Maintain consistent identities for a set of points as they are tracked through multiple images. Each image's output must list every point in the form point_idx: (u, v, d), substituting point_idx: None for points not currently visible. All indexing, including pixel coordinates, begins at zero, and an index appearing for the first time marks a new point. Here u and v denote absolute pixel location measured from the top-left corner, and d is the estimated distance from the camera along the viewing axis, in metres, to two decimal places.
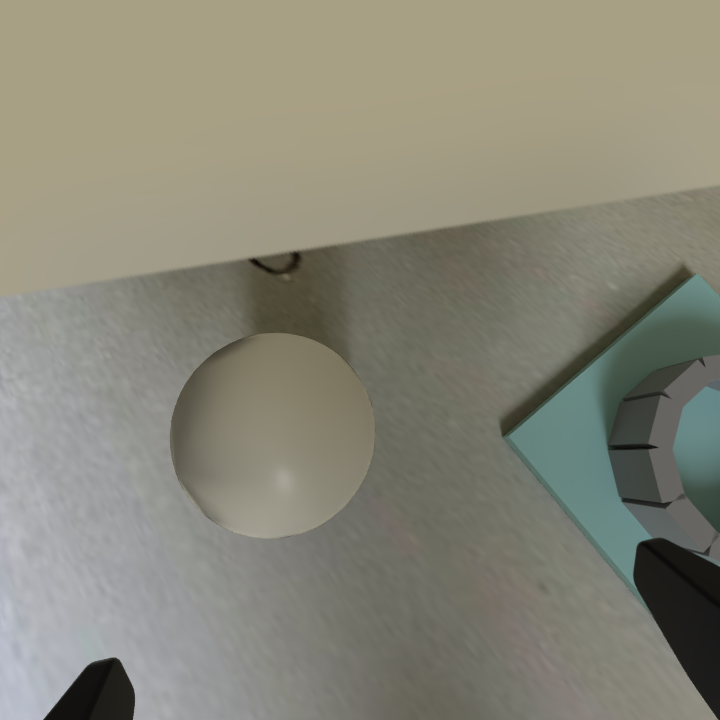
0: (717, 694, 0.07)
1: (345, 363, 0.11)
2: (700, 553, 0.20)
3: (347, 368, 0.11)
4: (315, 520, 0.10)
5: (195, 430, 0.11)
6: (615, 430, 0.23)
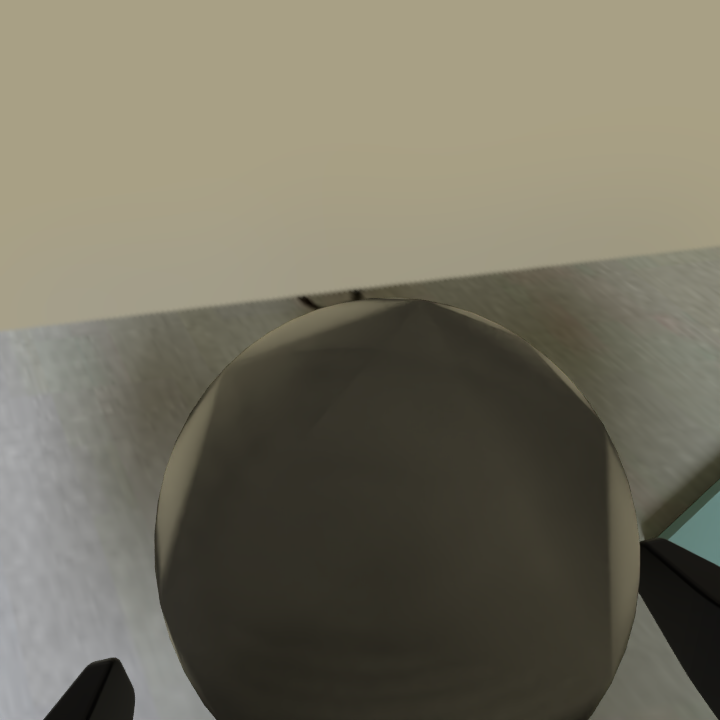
0: (717, 694, 0.07)
1: (548, 362, 0.05)
2: None
3: (552, 373, 0.05)
4: None
5: (216, 496, 0.05)
6: None
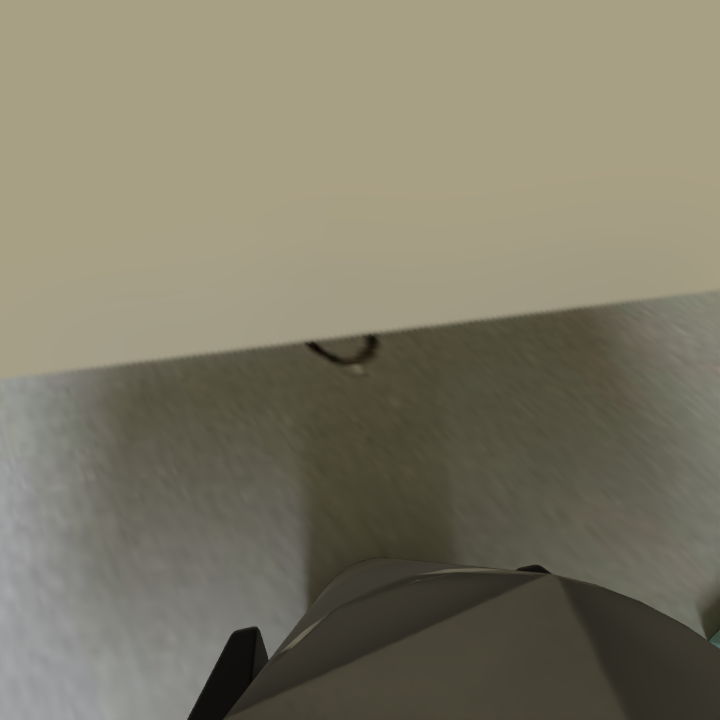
0: None
1: None
2: None
3: None
4: None
5: None
6: None
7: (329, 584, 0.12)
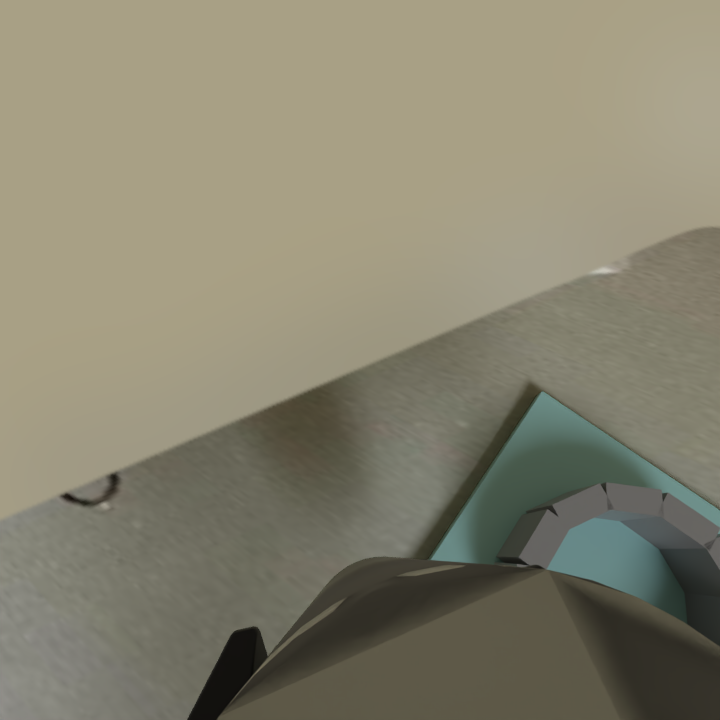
0: None
1: None
2: None
3: None
4: None
5: None
6: None
7: (328, 583, 0.12)
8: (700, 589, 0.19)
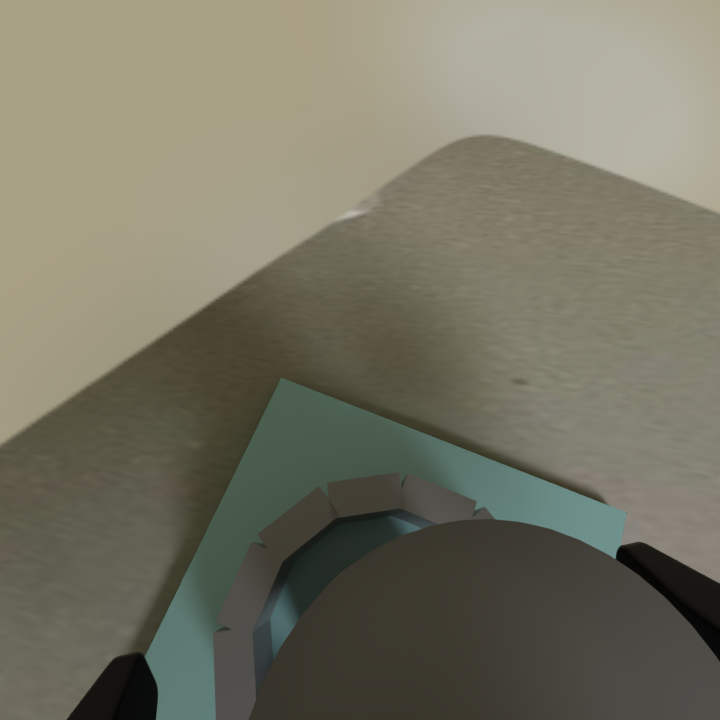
0: None
1: (668, 606, 0.04)
2: None
3: (674, 620, 0.04)
4: None
5: None
6: None
7: None
8: None
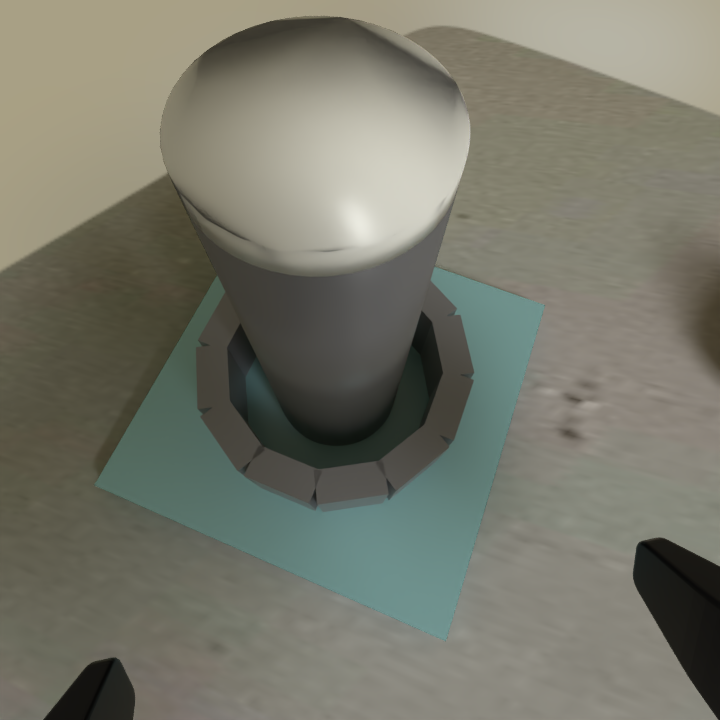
0: (717, 694, 0.07)
1: (424, 51, 0.08)
2: (318, 504, 0.15)
3: (426, 58, 0.08)
4: (377, 231, 0.06)
5: (200, 114, 0.07)
6: None
7: None
8: (420, 338, 0.18)
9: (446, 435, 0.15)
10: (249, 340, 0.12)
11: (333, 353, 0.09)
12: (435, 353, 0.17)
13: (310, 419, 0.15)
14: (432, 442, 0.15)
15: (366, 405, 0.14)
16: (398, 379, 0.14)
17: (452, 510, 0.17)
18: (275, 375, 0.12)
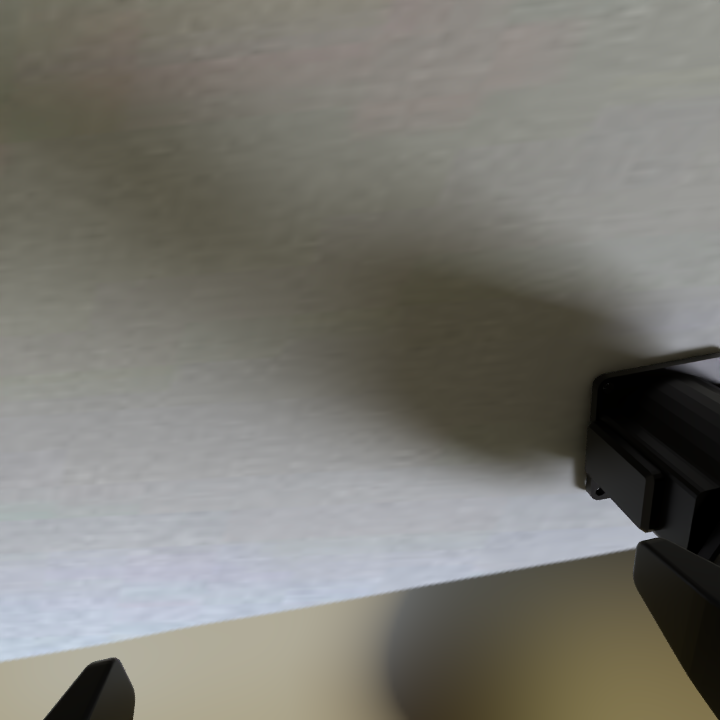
0: (717, 694, 0.07)
1: None
2: None
3: None
4: None
5: None
6: None
7: None
8: None
9: None
10: None
11: None
12: None
13: None
14: None
15: None
16: None
17: None
18: None
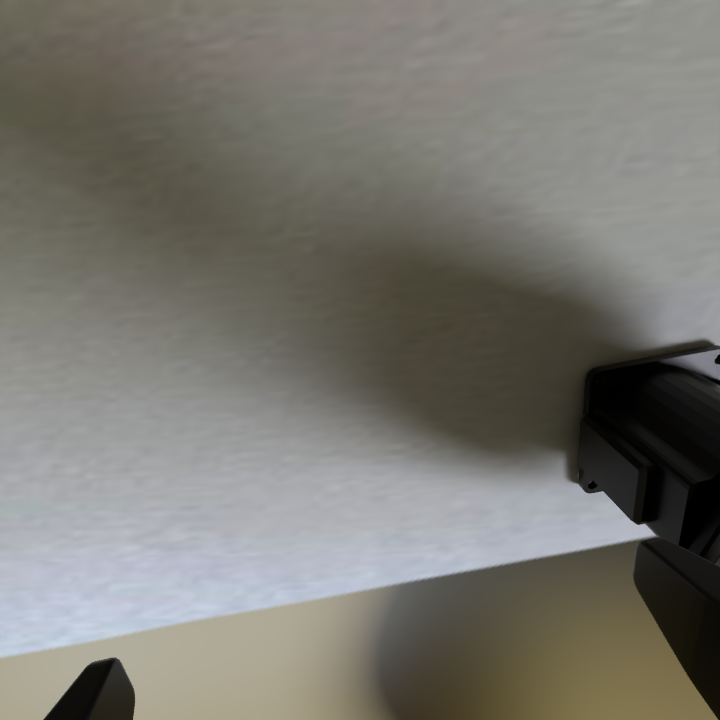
0: (717, 694, 0.07)
1: None
2: None
3: None
4: None
5: None
6: None
7: None
8: None
9: None
10: None
11: None
12: None
13: None
14: None
15: None
16: None
17: None
18: None
